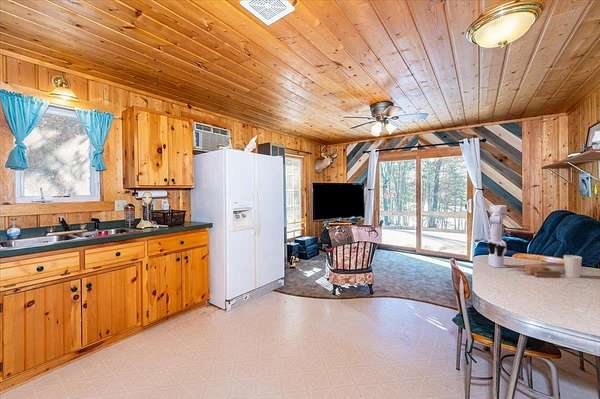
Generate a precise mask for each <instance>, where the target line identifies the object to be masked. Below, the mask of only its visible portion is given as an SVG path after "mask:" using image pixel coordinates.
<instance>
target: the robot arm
mask: <svg viewBox="0 0 600 399" xmlns="http://www.w3.org/2000/svg"><path fill="white" fill-rule="evenodd" d="M507 212H508V206H507V204H503V205H502V204H490V205H489V214H490V217H489V227H490V239H487V243H486V246H487V248H488V252H489V254H488V257H487V258H488V263H487V265H489V266H490V267H493V268H495V269H496V268H503V269H505V268H506V269H507V268H508V266H506V265H505V255H506V254H507V242H506V241H504V240H503V239H502V236H503V235H502V234H503V233H502V231H503V230H502V229H503V220H504V219H506V218H507V214H508V213H507Z"/></svg>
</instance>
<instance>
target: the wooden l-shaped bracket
mask: <svg viewBox="0 0 600 399" xmlns="http://www.w3.org/2000/svg"><path fill="white" fill-rule="evenodd" d="M542 266H543V271H535V274H534V277H535V278H558V279H559V278H560V277H561V275H560V274H561V273H560V271H558V270H555V269H553V268H550V267H547V266H544V265H542Z"/></svg>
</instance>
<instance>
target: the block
mask: <svg viewBox="0 0 600 399" xmlns="http://www.w3.org/2000/svg"><path fill="white" fill-rule="evenodd" d="M543 266H544V265H540V264H525V266H524V267H525V269H524V271H525V272H524V273H526V274H528V273H529V274H528V275H535V271H543Z"/></svg>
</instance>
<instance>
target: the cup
mask: <svg viewBox="0 0 600 399" xmlns="http://www.w3.org/2000/svg"><path fill="white" fill-rule="evenodd" d="M563 260H564V261H563V262H564V264H563V265H564V273H565V274H564V276H566V277H569V278H575V279H580V277H581V268H582V260H583V257H582V256H578V255H572V254H564V255H563Z"/></svg>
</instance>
